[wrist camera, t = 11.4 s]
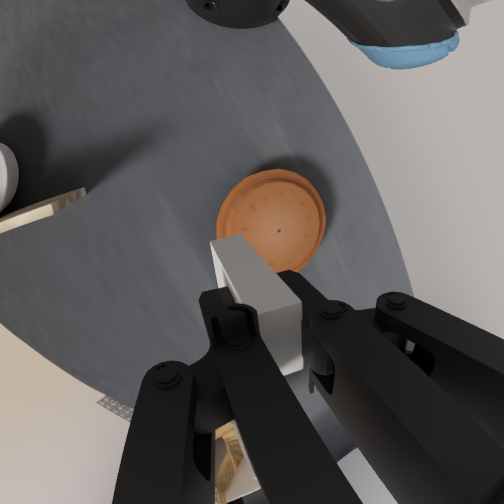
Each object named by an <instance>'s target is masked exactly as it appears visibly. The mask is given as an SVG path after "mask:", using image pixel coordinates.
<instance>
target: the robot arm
mask: <svg viewBox="0 0 504 504" xmlns="http://www.w3.org/2000/svg"><path fill="white" fill-rule="evenodd" d="M289 1H290V0H186V2H187V4H188V5H189V7H190V8H191V9H192V10H193V11H194V12H195V13H196V14H197V15H199V16H200V17H202V18H203V19H205V20H207V21H209V22H211V23H214V24H217V25H220V26H224V27H229V28H241V29H243V28H254V27H258V26H262V25H265V24H267V23H269V22H271V21H272V20H274V19H275V18H276V17H278V16H279V15H280V13H282V12H283V11H284V9H285V8H286V7H287V5H288V3H289ZM305 1H306V2H308V3H309V4H310V5H311V6H313V7H314V8H315V9H316V10H318V11H319V12H320V13H321V14H322V15H324V16H325V17H326V18H327V19H328V20H329V21H330V22H332V23H333V24H334V25H335V26H336V27H337V28H338V29H339V30H340V31H341V32H342V33H343V34H344V35H345V36H346V37H347V39H348V40H349V42H350V43H351V44H353V45H354V46H356V47H358V48H359V49H360V50H361V51H362V52H363V53H364V54H365V55H366V56H367V57H368V58H369V59H370V60H371V61H372V62H374V63H375V64H377V65H379V66H382V67H386V68H391V69H410V68H415V67H420V66H424V65H428V64H431V63H433V62H436V61H438V60H441V59H442V58H444V57H446V56H448V52H452V51H454V50H455V49H456V48H457V46H458V44H459V36H458V31H457V30H456V29H458V28H461V27H463V26H466V25H467V24H468V23H469V17H470V10H471V8H472V7H473V6H476V5H479V4H482V3H485V2H488V1H491V0H305ZM210 245H211V251H212V256H213V261H214V266H215V272H216V277H217V282H218V287H219V288H217V289H213V290H209V291H205V292H202V294H201V296H200V298H199V304H200V308H201V312H202V315H203V319H204V323H205V327H206V331H207V334H208V338H209V341H210V348H209V350H208V352H207V354H206V355H205V356H204V357H203V358H202V359H200V360H198V361H197V362H195V363H193V364H191V365H189V366H188V365H187V364H184V363H182V362H180V361H166V362H161V363H159V364H157V365H155V366H153V367H152V368H151V369H150V370H148V371H147V372H146V374H145V376H144V378H143V380H142V384H141V387H140V390H139V394H138V397H137V401H136V404H135V408H134V412H133V415H132V419H131V423H130V427H129V430H128V434H127V438H126V442H125V446H124V450H123V454H122V459H121V463H120V468H119V473H118V476H117V481H116V486H115V491H114V496H113V501H112V504H215V439H216V431H215V430H217V429H218V428H220V427H222V426H224V425H225V424H227V423H229V422H230V421H232V420H235V423H236V425H237V428H238V431H239V434H240V436H241V439H242V442H243V444H244V447H245V450H246V452H247V455H248V457H249V460H250V463H251V465H252V468H253V470H254V473H255V475H256V478H257V480H258V482H259V485H260V487H261V490H262V492H263V494H264V497H265V499H266V501H267V503H268V504H363V503H362V501H361V500H360V498H359V497H358V495H357V494H356V492H355V491H354V489H353V488H352V486H351V485H350V483H349V482H348V480H347V479H346V477H345V476H344V474H343V472H342V471H341V469H340V468H339V466H338V465H337V463H336V461H335V460H334V458H333V457H332V455H331V454H330V452H329V450H328V449H327V447H326V446H325V444H324V442H323V441H322V439H321V438H320V436H319V434H318V433H317V431H316V429H315V428H314V426H313V425H312V423H311V421H310V420H309V418H308V416H307V415H306V413H305V411H304V410H303V408H302V406H301V405H300V403H299V401H298V400H297V398H296V396H295V395H294V393H293V391H292V390H291V388H290V386H289V384H288V383H287V381H286V379H285V378H284V375H287V374H290V373H293V372H296V371H299V370H302V369H303V358H304V359H305V360H306V362H307V363H308V365H309V391H310V394H311V393H314V385H315V386H316V388H317V390H318V391H319V392H320V394H321V395H322V397H323V398H324V399H325V401H326V402H327V404H328V405H329V407H330V408H331V410H332V411H333V413H334V414H335V416H336V417H337V418H338V420H339V421H340V423H341V424H342V426H343V427H344V429H345V430H346V431H347V433H348V434H349V436H350V437H351V439H352V440H353V441H354V443H355V444H356V446H357V447H358V449H359V450H360V451H361V453H362V454H363V456H364V457H365V458H366V460H367V461H368V463H369V464H370V465H371V467H372V468H373V470H374V471H375V472H376V474H377V475H378V477H379V478H380V479H381V481H382V482H383V483H384V484H385V486H386V488H387V489H388V490H389V492H390V493H391V494H392V495H393V497H394V499H395V500H396V501H397V503H398V504H504V339H501V338H499V337H497V336H495V335H493V334H491V333H489V332H487V331H485V330H483V329H481V328H479V327H477V326H474V325H472V324H470V323H468V322H466V321H464V320H462V319H460V318H457V317H455V316H453V315H451V314H449V313H447V312H444V311H442V310H440V309H438V308H436V307H434V306H432V305H429V304H427V303H425V302H423V301H421V300H418V299H416V298H414V297H412V296H410V295H407V294H404V293H401V292H387V293H384V294H382V295H380V296H379V297H378V298H377V302H376V308H371V309H364V310H354V309H353V308H352V307H351V306H350V305H348V304H346V303H345V302H341V301H337V300H327V299H326V298H325V297H324V296H323V295H322V294H321V293H320V292H319V291H318V290H317V289H316V288H315V287H314V286H311V284H310V283H309V282H308V281H306V279H305V278H304V277H303V276H302V275H301V274H300V273H297V272H294V271H292V270H285V271H281V272H278V273H275V272H274V271H273V269H272V268H271V267H270V266H269V265H268V264H267V263H266V262H265V261H264V260H263V259H262V257H261V256H260V255H259V254H258V253H257V252H256V251H255V250H254V249H253V248H252V246H251V245H250V244H249V243H248V242H247V241H246V240H245V239H244V238H243V237H242V236H241V234H240V235H235V236H230V237H226V238H221V239H217V240H212V241H210ZM408 340H409V341H411V342H413V343H415V346H414V350H413V351H408V350H406V347H407V343H408Z"/></svg>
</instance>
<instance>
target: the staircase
mask: <svg viewBox="0 0 504 504" xmlns="http://www.w3.org/2000/svg"><path fill="white" fill-rule="evenodd" d="M215 431H216V439H215V504H227V502H230V501H233V500H235V499H237V498H240V497H242V496H245V495H247V494H249V493H252V492H254V491H256V490H258V489H260V488H261V487H260V485H259V482H258V480H257V478H256V475H255V473H254V470H253V468H252V465H251V463H250V460H249V457H248V455H247V452H246V450H245V447H244V444H243V442H242V439H241V436H240V434H239V431H238V428H237V425H236V423H235V420H232V421H230V422H229V423H227V424H225V425H224V426H222V427H220V428H218V429H217V430H215Z"/></svg>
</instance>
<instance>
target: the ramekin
mask: <svg viewBox="0 0 504 504" xmlns="http://www.w3.org/2000/svg"><path fill="white" fill-rule="evenodd" d="M18 178H19V171H18V165H17V161H16V158H15V155H14V154H13V152H12V151H11V149H10V148H9V147H8V146H6V145H4V144H2V143H0V212H1V211H2V210H3V209H4V208H5V207H6V206H7V205H8V204H9V203H10V202H11V200H12V198H13V197H14V194H15V192H16V189H17V185H18Z"/></svg>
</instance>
